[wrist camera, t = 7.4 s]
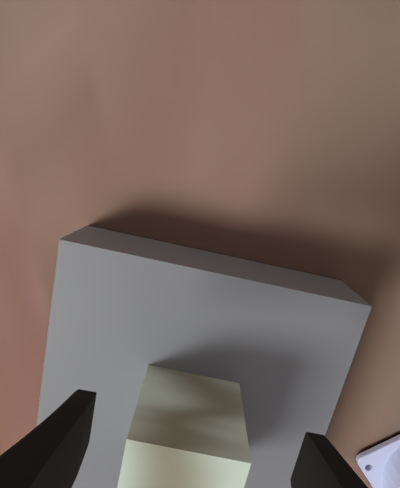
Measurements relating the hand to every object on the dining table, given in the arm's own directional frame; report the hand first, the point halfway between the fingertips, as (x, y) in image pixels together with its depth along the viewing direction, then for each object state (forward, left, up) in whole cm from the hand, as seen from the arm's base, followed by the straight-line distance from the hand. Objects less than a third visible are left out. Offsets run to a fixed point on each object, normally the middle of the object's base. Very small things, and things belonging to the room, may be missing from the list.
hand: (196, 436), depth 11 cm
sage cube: (-3, +3, -7) cm, 8 cm away
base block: (-3, +3, -11) cm, 11 cm away
